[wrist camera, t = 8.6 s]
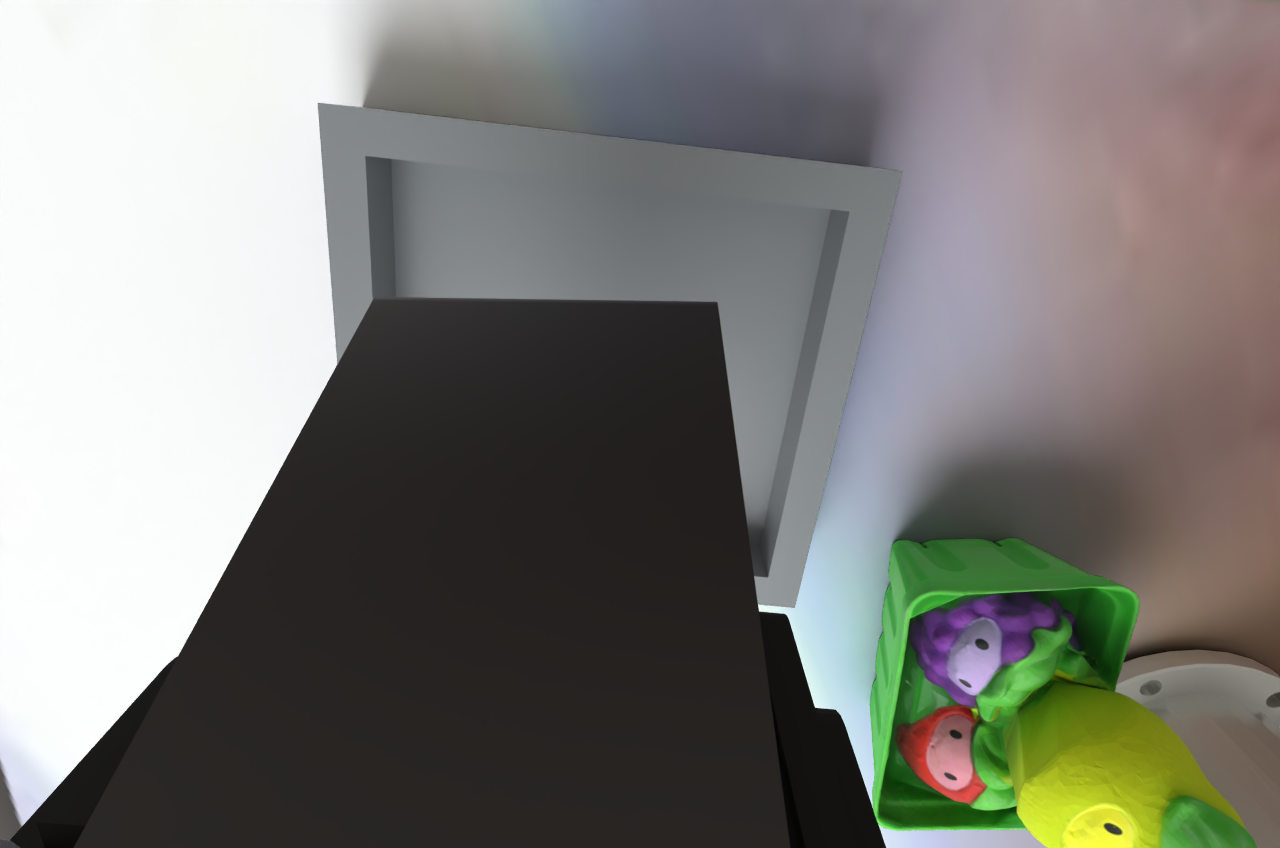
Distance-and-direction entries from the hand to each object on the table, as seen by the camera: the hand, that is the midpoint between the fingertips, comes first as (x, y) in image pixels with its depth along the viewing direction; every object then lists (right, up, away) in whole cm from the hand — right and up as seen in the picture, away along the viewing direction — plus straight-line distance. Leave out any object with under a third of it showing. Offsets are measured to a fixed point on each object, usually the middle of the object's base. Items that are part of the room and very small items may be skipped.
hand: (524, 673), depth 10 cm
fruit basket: (+15, -5, +19) cm, 24 cm away
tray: (0, +6, +14) cm, 15 cm away
